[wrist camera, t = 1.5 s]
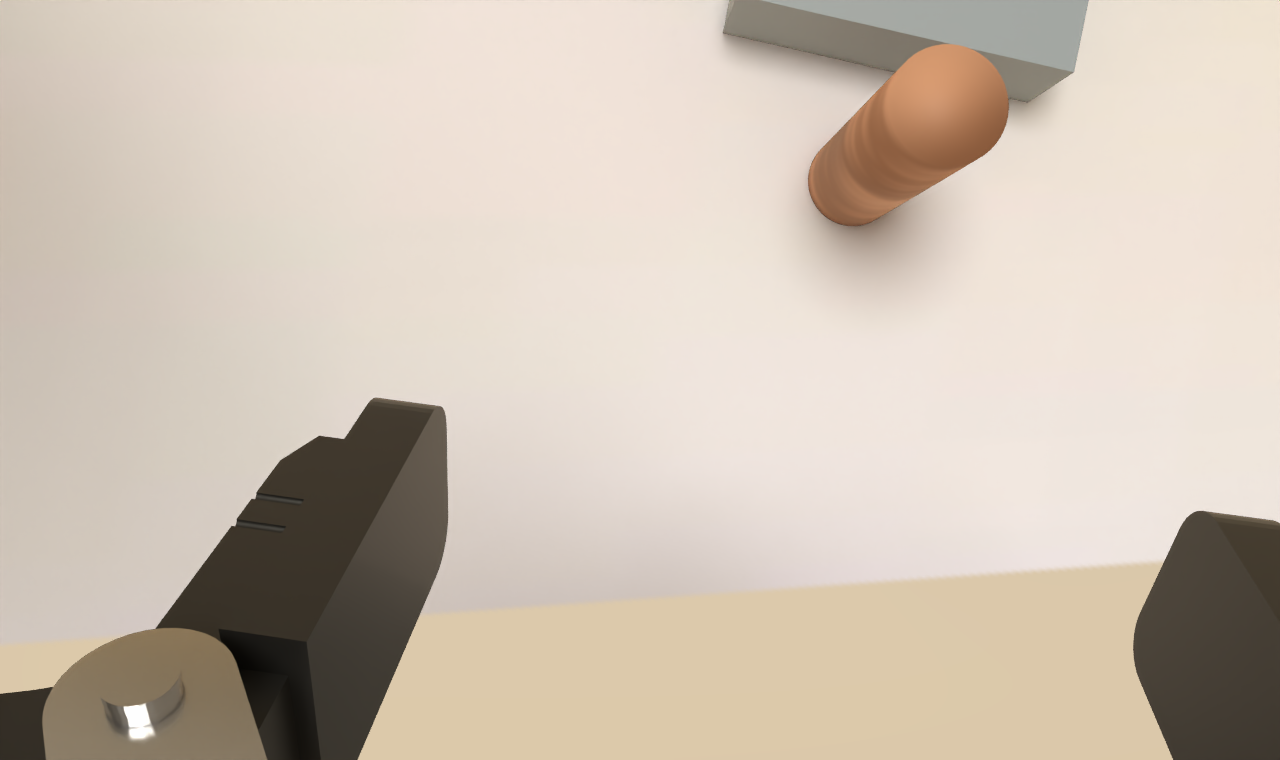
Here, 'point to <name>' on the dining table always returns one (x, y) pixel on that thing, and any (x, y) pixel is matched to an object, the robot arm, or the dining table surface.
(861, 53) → the pocket block
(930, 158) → the dowel
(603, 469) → the dining table surface
